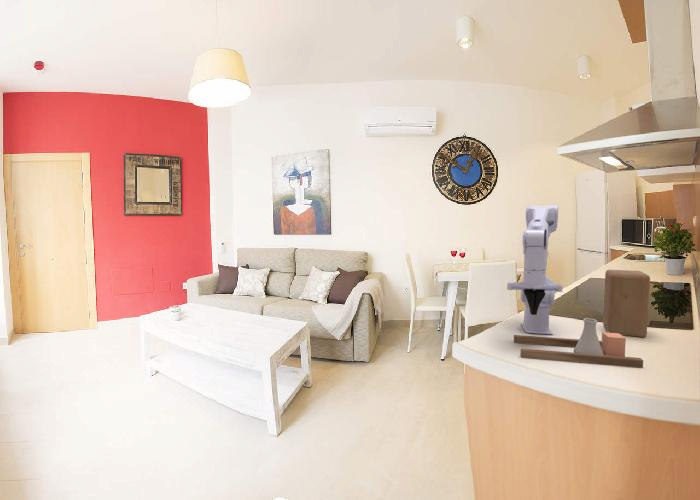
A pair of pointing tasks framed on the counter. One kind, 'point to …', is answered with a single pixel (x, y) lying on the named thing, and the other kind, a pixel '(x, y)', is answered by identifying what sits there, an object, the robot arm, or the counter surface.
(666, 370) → the counter surface
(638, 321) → the wooden block
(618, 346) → the block
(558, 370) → the counter surface
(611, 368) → the counter surface
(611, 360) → the strip
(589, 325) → the flask
